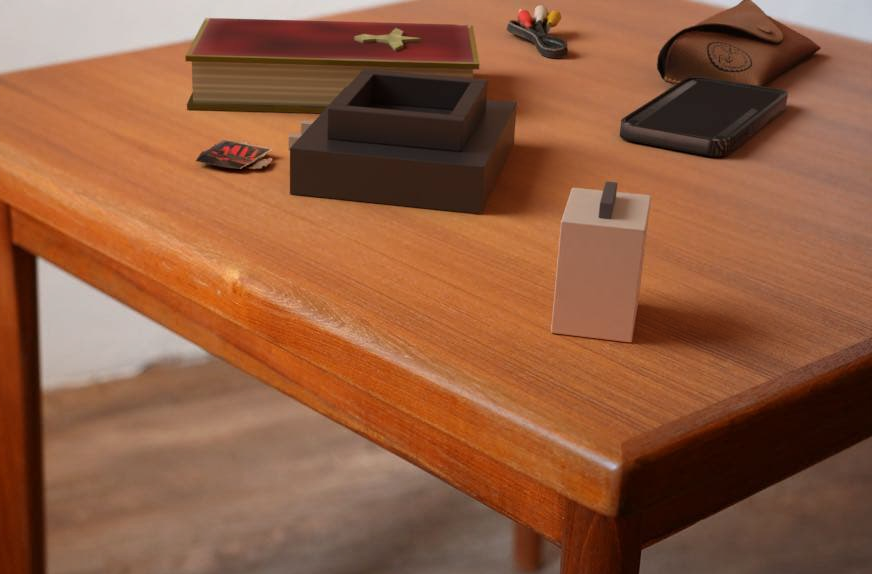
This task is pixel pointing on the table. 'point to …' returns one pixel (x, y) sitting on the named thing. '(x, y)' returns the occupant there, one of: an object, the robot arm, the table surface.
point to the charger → (600, 263)
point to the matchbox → (235, 155)
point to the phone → (704, 116)
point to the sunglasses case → (734, 48)
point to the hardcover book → (314, 60)
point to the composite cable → (539, 31)
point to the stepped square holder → (405, 143)
